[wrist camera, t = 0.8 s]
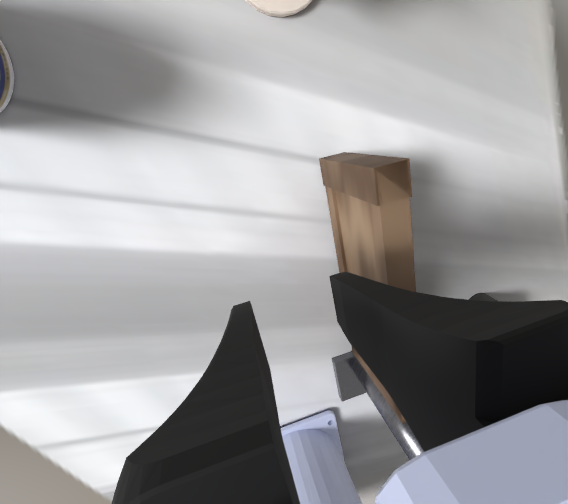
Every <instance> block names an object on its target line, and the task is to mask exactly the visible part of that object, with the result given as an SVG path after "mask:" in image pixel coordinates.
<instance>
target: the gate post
mask: <svg viewBox="0 0 568 504" xmlns="http://www.w3.org/2000/svg"><path fill="white" fill-rule="evenodd" d="M332 362H333V367H334V372H335V377H336V382H337V387H338V392H339V397H340V398H341V400H342V401H345V400H347V399H350V398H353V397H356V396H358V395H361V394H364V393H366V392H367V394H368V395H369V397H370V399H371V400H372V402H373V403H374V405H375V406H376V408H377V409H378V411H379V413H380V414H381V416H382V417H383V419H384V420H385V422H386V423H387V425H388V427H389V428H390V430H391V431H392V433H393V434H394V436H395V437H396V439H397V441H398V442H399V444H400V445H401V447H402V448H403V450H404V451H405V453H406V455H407V456H408V458H409V459H410V460H411V459H413V458H415V457H416V456H418V455H419V454H421V453H423V452H424V451H423V449H422V447H421V446H420V444H419V442H418V440H417V439H416V437H415V435H414V434H413V432H412V430H411V429H410V427H409V425H408V424H407V422H404V423H402V422H401V421H400V419H399V418H398V417H397V415H396V414H395V412H394V411H393V409H392V408H391V407H390V405H389V404H388V402H387V401H386V399H385V398H384V397H383V395H382V394H381V392H380V391H379V389H378V388H377V387H376V385H375V384H374V382H373V381H372V379H371V378H370V377H369V375H368V374H367V372H366V371H365V369H364V368H363V366H362V365H361V364H360V362H359V361H358V359H357V358H356V356H355V355H354V354H353V351H351V352H349V353H346V354H343V355H340V356H338V357H335V358H332Z"/></svg>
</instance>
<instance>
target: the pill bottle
mask: <svg viewBox="0 0 568 504" xmlns="http://www.w3.org/2000/svg"><path fill="white" fill-rule="evenodd" d="M13 88H14V72H13V67H12V63H11V60H10V57H9V55H8V52H7V50H6V48H5V46H4V44H3V43H2V41H1V40H0V113H1V112H2V111H3V110H4V108H5V107H6V106H7V104H8V103H9V101H10V99H11V96H12V93H13Z"/></svg>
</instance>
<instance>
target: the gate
mask: <svg viewBox="0 0 568 504" xmlns="http://www.w3.org/2000/svg"><path fill="white" fill-rule="evenodd" d="M319 160H320V166H321V172H322V178H323V184H324V186H325V187H326V193H327V199H328V205H329V211H330V217H331V223H332V229H333V235H334V241H335V247H336V254H337V260H338V266H339V272H340V273H342V272H349V273H352V274H356V275H359V276H362V277H365V278H368V279H371V280H374V281H377V282H380V283H383V284H387V285H390V286H393V287H397V288H401V289H405V290H409V291H413V292H416V287H415V272H414V257H413V241H412V226H411V211H410V197H412V193H411V178H410V162H409V159H408V158H397V157H387V156H377V155H366V154H356V153H346V152H344V153H340V154H336V155H332V156H328V157H324V158H320V159H319ZM352 351H353V354H354V355H355V356H356V358H357V359H358V361H359V362H360V364H361V365H362V366H363V368H364V369H365V371H366V372H367V374H368V375H369V377H370V378H371V379H372V381H373V382H374V384H375V385H376V387H377V388H378V389H379V391H380V392H381V394H382V395H383V397H384V398H385V399H386V401H387V402H388V404H389V405H390V407H391V408H392V409H393V411H394V412H395V414H396V415H397V417H398V418H399V419H400V421H401V422H402V423H404V422H406V420H405V419H404V417H403V416H402V414H401V412H400V411H399V409H398V407H397V406H396V404H395V403H394V401H393V399H392V398H391V396H390V395H389V393H388V392H387V391H386V389H385V388H384V386H383V385H382V384H381V383H380V381H379V380H378V379H377V377H376V376H375V375H374V373H373V372H372V371H371V370H370V368H369V367H368V366H367V364H366V363H365V362H364V361H363V359H362V358H361V357H360V355H359V354H358V353H357V351H356V350H355V349H354V348H353V346H352Z"/></svg>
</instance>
